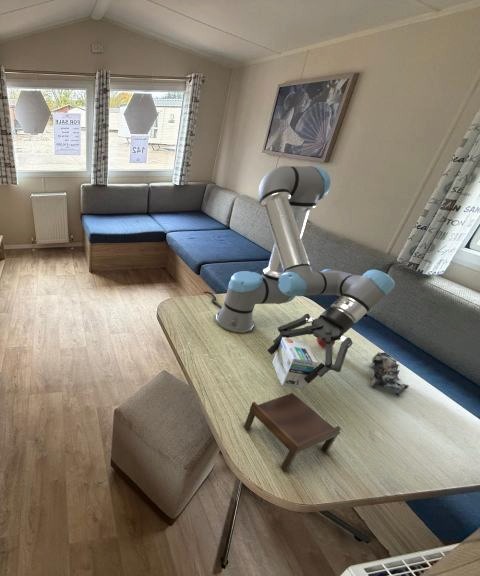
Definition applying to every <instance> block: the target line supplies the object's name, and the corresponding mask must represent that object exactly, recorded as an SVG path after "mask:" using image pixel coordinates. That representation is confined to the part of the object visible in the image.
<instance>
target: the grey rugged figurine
mask: <svg viewBox="0 0 480 576" xmlns="http://www.w3.org/2000/svg"><path fill="white" fill-rule="evenodd" d="M398 361H399V360H397V359H396V358H395V357H393V356H391V355H390V354H389V353H387V352H380V351H378V352H377V353H375V354H374V356H373V355H371V364H370V367H371V368H372V369H373V373H372V374H371V379H370V382H371V383H370V385H371V387H372V388H373V389H375V388H376V387H383V388H385V390H387V388H391V389H395V395H397V396H398V397H400V396H401V394H402V392H403V391H405V390H407V389H408V388H409V387H410V385H409V384H404V383H400V382H402V379H401V378H399V375H400V374H399V373H400V371H401V369H399V367H401V365H400V364H398Z"/></svg>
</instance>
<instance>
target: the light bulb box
mask: <svg viewBox="0 0 480 576" xmlns="http://www.w3.org/2000/svg"><path fill="white" fill-rule="evenodd" d="M318 365H319V360H317V358H316V357H315V355H314V354H313V352H312V351H311V349H310V348H309V346H308V344H307V342H306V341H305V339H298V338H293V337H290V338H285V337H282V339H281V342H280V345H279V347H278V350H277V351H276V352H275V355H274V358H273V360H272V366H273V368H274V370H275V372H276V375H277V377H278V380H279V382H280V384H281V386H282V387H285V388H292V389H298V390H304V391H306V389H307V388H308V386H309V384H308V383H307V382H306V381H305V380H304V378H305V377H306V376H307V375H308V374H310V373H311V372H312V371H313V370H314V369H315V368H316V367H317V366H318Z"/></svg>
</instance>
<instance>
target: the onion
mask: <svg viewBox="0 0 480 576" xmlns="http://www.w3.org/2000/svg"><path fill="white" fill-rule="evenodd" d="M316 342H317V344H318V345H319V346H320V347H321V348H326V342H323V341H321V340H320V339H319V338H317V337H316ZM335 344H336V340H335V341H333V346H334V345H335Z"/></svg>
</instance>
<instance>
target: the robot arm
mask: <svg viewBox="0 0 480 576" xmlns="http://www.w3.org/2000/svg"><path fill="white" fill-rule="evenodd" d="M328 173H329V172H328V171H327V170H326V168H323V167H320V166H313V165H310V166H308V165H305V166H304V165H303V166H302V165H301V166H299V165H298V166H297V165H296V166H295V165H292V166H291V165H282V166H277V167H274V168H273V169H271V170H269V171H268V172H267V173H266V174H265V175H264V177H263V178H262V179H261V181H260V183H259V186H258V191H257V198H258V203H259V206H260V208H261V209H262V210H264V211H265V212H264V213H265V215H266V218H267V221H268V222H267V223H268V225H269V229H270V232H271V236H272V238H273V246H272V250H271V254H270V258H269V261H268V266H267V267H264V268H263V269H262V273H261V274H260V273H258V272H255V271H250V270H242V271H237V272H234V274H233V275H231V277H230V280H229V282H228V286H227V290H226V295H225V298H224V302H223V305H221V304H220V303H218V302H217V301H216V300H217V296H215V294H213V293H212V292H210V291H209V290H208V291H203V294H208V295H210V296H211V297H212V298H213V299H211V302H212V303H213V304H214V305H216V306H218V307H219V308H220V309H218V312H217V314H216V316H215V321H216V324H218V326H219V327H220V328H222V329H224V330H226V331H229V332H231V333H236V334H246V333H249V332H251V331H252V330H253V327H254V325H255V324H254V313H253V312H254V308H255V305H274V304H275V305H281V304H288V303H290V302H292V301H293V300H294V299H295V298H296V297H306V296H338V298H337V299H335V301H333V302H332V304H331V305H330V307H327V308H326V309H325V310H324V311H323V312H321V314H319V316H318V317H317V318H314V317H312V316H310V314H309V313H305V314H304V315H303V316H301V317H300V318H297V319H295V320H293V321H290V322H288V323H285V324H283V325H280V326H278V327H277V329H276V330H277V331H278V332H279V335H278V336H277V337H275V338H274V339H273V341H272V342H273V343H272V345H271V346H270V347H269V348H268V349H267V350H266V351H267V352H268V353H269V354H270V355H271V356H273V355H274V354H276V352H277V350H278V347H279V345H280V342H281V339H282V337H285V338H295V337H300V336H306V335H307V336H308V335H309V336H311V335H313V337H315V338H316V339H317V338H319V339H320V340H321V341H323V342H326V347H325V357H324V359H325V360H324V363H323V362H319V363H318V365H317V367H316V368H315V369H314V370H313V371H312V372H311V373H310V374H308V375H307V376H306V377H305V378H304V380H305V381H306V382H307V383H308V385H309V384H310V383H311V382H312V381H314V380H315V379H316V378H317V377H319V378H322V377H323V376H325V375H326V374H327V373H328V372H329V371H333V372H336V373H340V372H341V371H342V368H343V364H344V362H345V358H346V356H347V353H348V350H349V348H350V347H352V345H353V340H352V338H351V337H349V336H348V337H346V336H345V335H344V334H345V333H347V332H348V331H349V330H350V329H351V328H352V327H353V326H354V325H355V324H356V323H358V322H359V321H360V320H361V319H362V318H363V317H364V316H365V315H367V313H368V312H370V311H371V310H372V309H373V308H374V307H375V306H376V305H377V304H378V303H379V302H380V301H382V300H383V299H384V298H386V297H387V296H388V294H389V293H390V292H391V291H392V290H393V289H394V287H395V286H396V283H395V281H394V279H393V278H392V277H391V276H390V275H388V273H386V272H383V271H381V270H378V269H369V270H367V271H365V272H364V273H363V274H362V275H359V274H353V273H350V272H345V271H341V270H339V269H330V268H324V269H322V270H321V271H313V270H312V266H311V264H310V260H309V258H308V255H307V251H306V248H305V246H304V243H303V240H302V238H303V234H304V231H305V228H306V223H307V220H308V217H309V214H310V211H311V210H313V209H314V208H316V207H317V203H318V201H320V200H322V199H324V198H325V196H327V195H328V193H329V191H330V188H331V176H330V174H328ZM310 323H311V324H310ZM306 324H310V325H306ZM305 325H306V326H305ZM302 326H305V327H302ZM339 340H340V345H339V348H338V352H337V353H336V354H337V355H336V358H335V361H334V364H333V356H334V355H333V354H334V353H333V352H334V351H333V349H334V348H333V347H334V345H333V341H335V342H336V341H339Z"/></svg>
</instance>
